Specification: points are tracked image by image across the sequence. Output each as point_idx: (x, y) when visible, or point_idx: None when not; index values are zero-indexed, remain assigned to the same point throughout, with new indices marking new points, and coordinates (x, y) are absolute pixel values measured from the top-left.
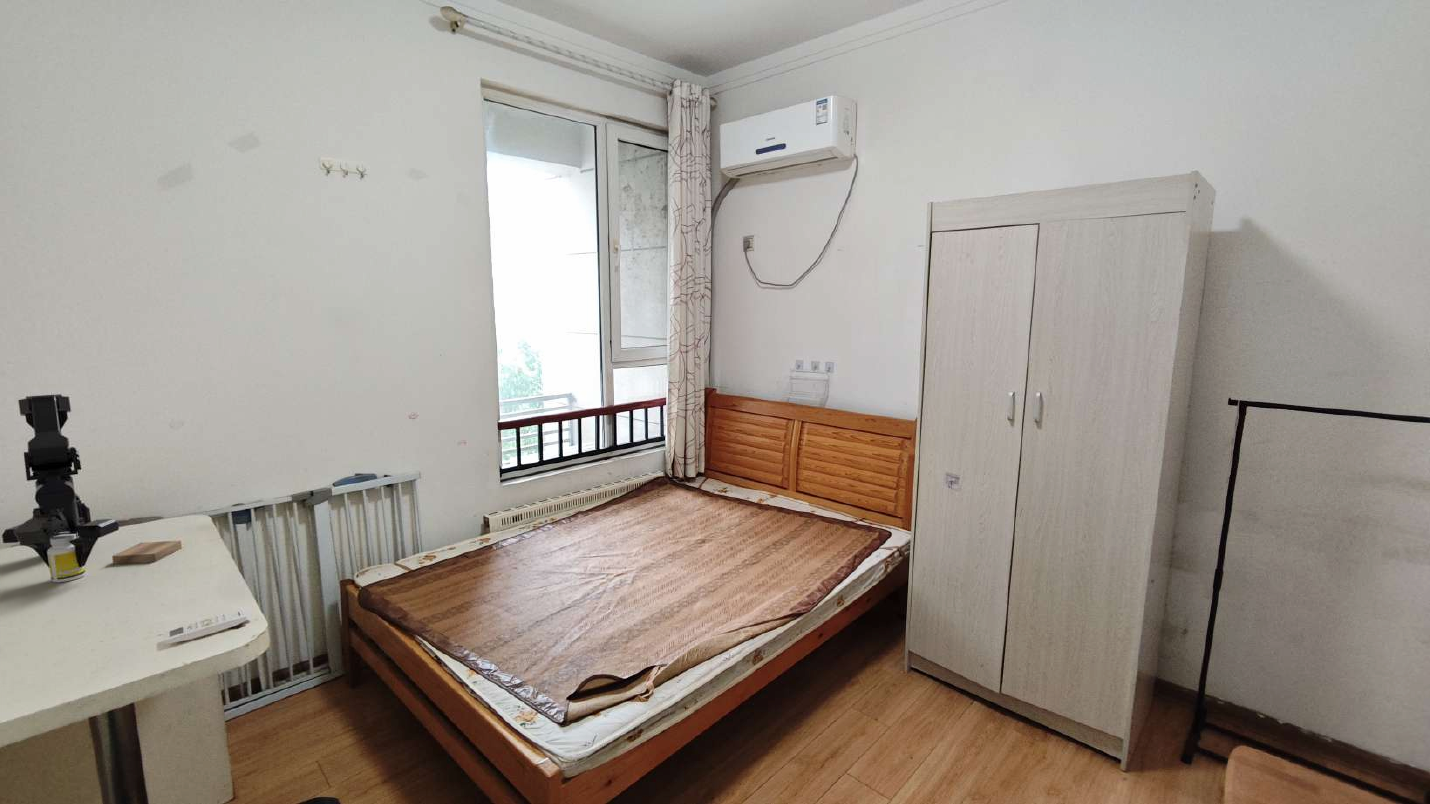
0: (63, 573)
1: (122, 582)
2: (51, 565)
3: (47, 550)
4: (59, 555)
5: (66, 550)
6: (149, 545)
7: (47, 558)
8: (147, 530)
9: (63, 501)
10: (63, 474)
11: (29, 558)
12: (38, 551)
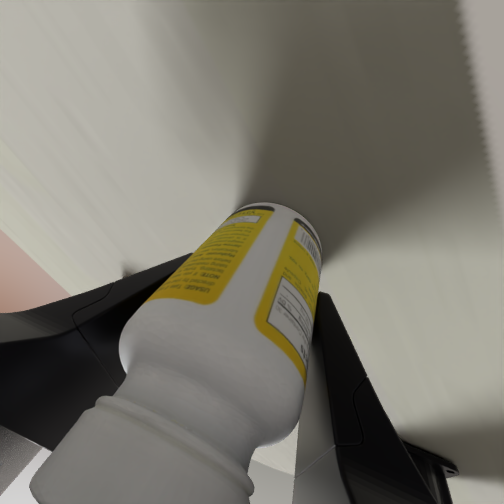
0: (240, 219)
1: (40, 112)
2: (277, 261)
3: (317, 417)
4: (180, 288)
5: (130, 319)
6: None
7: (320, 342)
8: (281, 453)
9: None
10: None
11: (497, 482)
12: (375, 431)
